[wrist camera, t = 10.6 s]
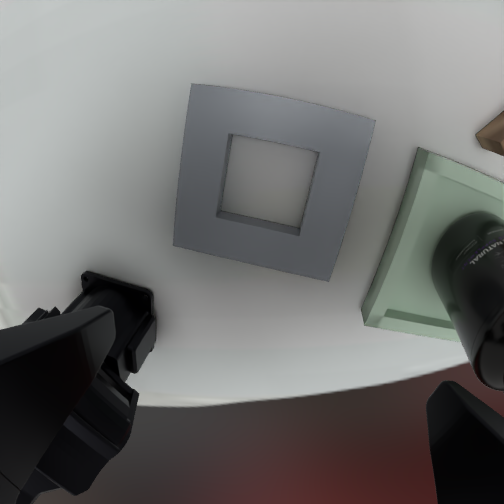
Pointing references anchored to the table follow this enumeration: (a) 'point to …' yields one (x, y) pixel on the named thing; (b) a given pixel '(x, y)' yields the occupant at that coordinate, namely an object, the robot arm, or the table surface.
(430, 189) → the tray
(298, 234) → the hole plate
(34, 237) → the table surface
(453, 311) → the supplement bottle
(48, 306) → the table surface
